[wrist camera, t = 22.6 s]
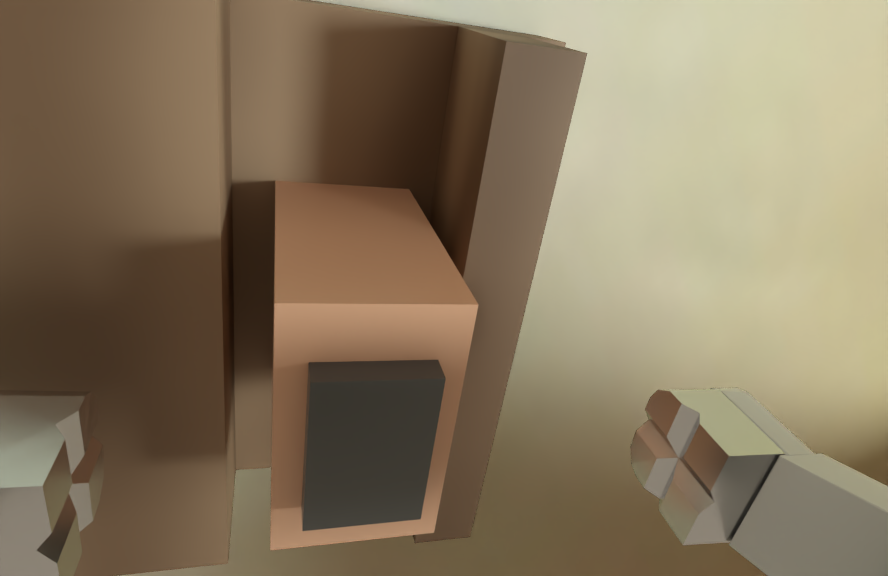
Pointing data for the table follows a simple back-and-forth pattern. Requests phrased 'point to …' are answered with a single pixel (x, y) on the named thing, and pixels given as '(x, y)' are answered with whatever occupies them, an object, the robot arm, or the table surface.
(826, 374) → the table surface
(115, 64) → the brown slotted tray
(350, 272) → the orange rectangular block
